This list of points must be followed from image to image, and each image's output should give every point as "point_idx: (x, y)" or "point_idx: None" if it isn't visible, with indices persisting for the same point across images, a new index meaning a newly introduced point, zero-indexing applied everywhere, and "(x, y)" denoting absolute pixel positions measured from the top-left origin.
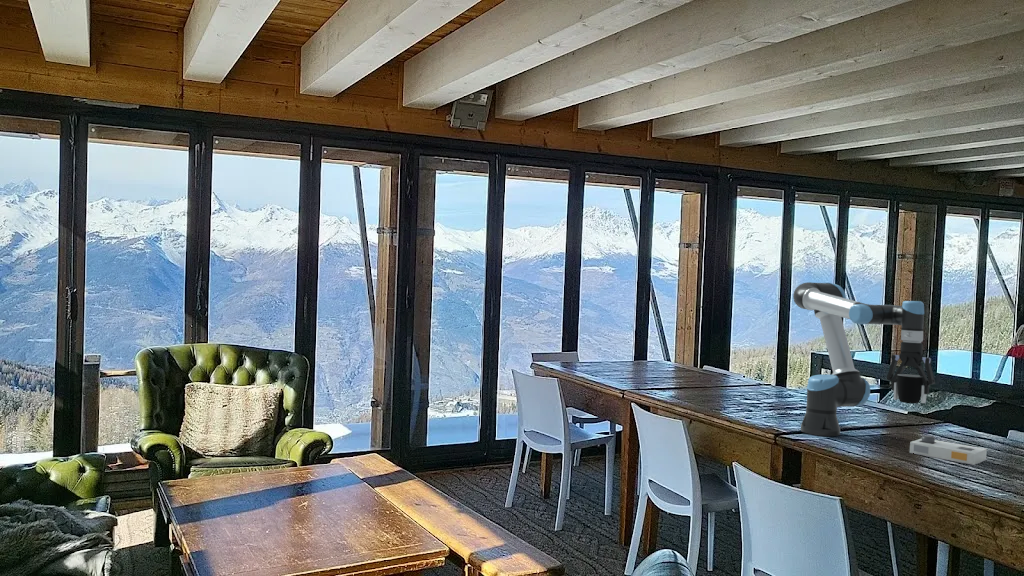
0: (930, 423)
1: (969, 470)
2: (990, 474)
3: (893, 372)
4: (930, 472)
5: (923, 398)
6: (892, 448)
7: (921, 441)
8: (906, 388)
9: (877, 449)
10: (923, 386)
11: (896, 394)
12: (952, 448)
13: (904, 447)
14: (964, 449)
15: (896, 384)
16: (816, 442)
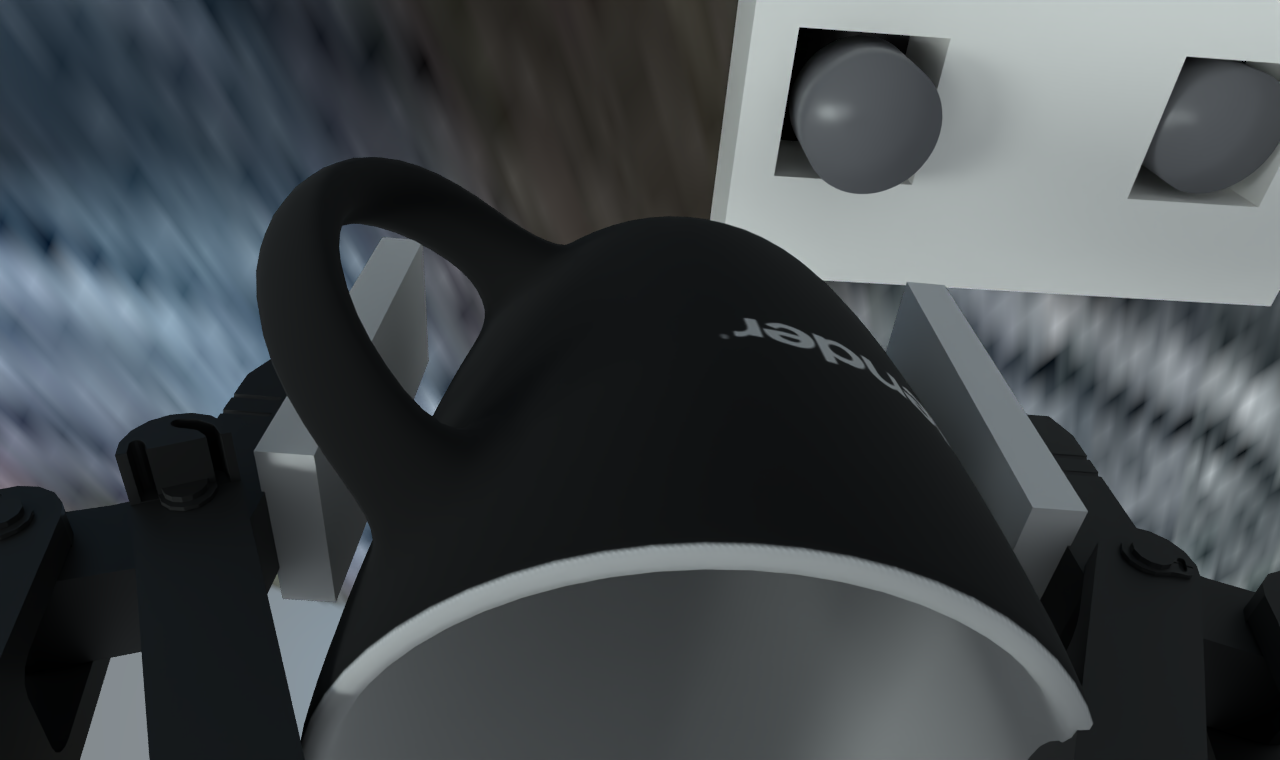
0: None
1: (1151, 454)
2: (1275, 459)
3: (4, 746)
4: None
5: None
6: (538, 165)
7: (794, 129)
8: (675, 710)
9: (474, 316)
10: None
11: (405, 386)
12: (1093, 243)
13: (597, 3)
14: (1205, 167)
15: (348, 552)
16: (68, 447)
